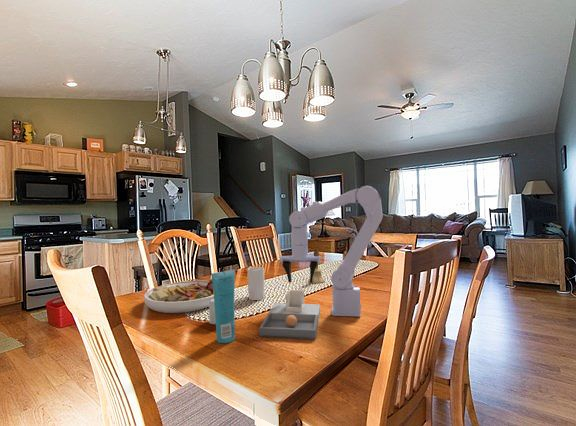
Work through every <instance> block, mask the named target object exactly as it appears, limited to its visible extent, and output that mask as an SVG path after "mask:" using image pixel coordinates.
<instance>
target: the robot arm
mask: <svg viewBox="0 0 576 426" xmlns="http://www.w3.org/2000/svg"><path fill="white" fill-rule="evenodd" d="M347 204H360V206H361V207H362V209H363V210H364V213H365V216H366V219H365V221H364V222H363V225H361V228H360V230H359V231H358V234H357V235H356V237H355V239H354V241H353V242H352V244H351V246H350V248H349V249H348V252H347V254H346V255H345V257H344V259H343V260H342V262H341V263H340V265H339V266H338V267H337V269H336V270H335V271H333V272H332V274H331V276H330V280H331V284H332V288H331V289H332V306H331V316H335V317H337V316H338V317H357V318H359V317H362V315H361V309H362V304H361V289H360V287H359V286H355V285H354V283H353V282H352V281H353V279H354V276H355V269H356V267H357V266H358V264H359V262H360V260H361V258H362V256H363V255H364V253H365V252H366V249H367V247H368V246H369V244H370V242H371V240H372V238H373V237H374V235H375V233H376V231H377V229H378V228H379V225H380V224H381V222H382V220H383V217H384V216H383V208H382V198H381V196H380V193H379V192H378V191H377V189H376V188H374V187H373V186H370V185H364V186H361V187H360V188H355V189H352V190H349V191H346V192H345V193H343V194H341V195H338V196H336V197H334V198H332V199H330V200H327V201H326V202H322V201H313V202H312V204H310V205H307V206H306V207H301V208H300V210H295V211H293V212H292V213H290V216H289V218H288V221H289V224H290V226H291V255H280V256H279V262H280V263H282V268H283V269H284V271H285V273H286V277H287V279H288V280H287V281H288V283H292V263H309V272H310V273H309V275H310V276H309V279H310V282H309V284H313V283H312V280H313V274H314V271H315V268H316V266H317V263H318V264H319V263H321V256H320V255H319V256H314V255H309V248H308V247H309V246H308V245H309V243H308V242H309V241H308V239H309V237H308V225H309V224H311V223H314V222H316V221H318V220H320V219H323V218H326V217H327V216H328V212H330V211H332V210H334V209H337V208H340V207H343V206H345V205H347Z"/></svg>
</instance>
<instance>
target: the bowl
mask: <svg viewBox="0 0 576 426" xmlns="http://www.w3.org/2000/svg"><path fill="white" fill-rule="evenodd" d="M143 299H144V303H145V305H146V306H147V308H149V309H151V310H152V311H155V312H158V313H165V314H181V313H182V314H183V313H190V312H191V311H192V312H197V311H200V309H201V310H204V308H205V309H207V307H208V308H209V301H211V300H212V299H214V295H213V284H212V278H210V279H209V280H189V281H188V280H187V281H179V282H172V283H167V284H162V285H160V286H156V287H153V288H151V289H149V290H147V291H146V292H145V293H144V295H143ZM196 310H197V311H196Z"/></svg>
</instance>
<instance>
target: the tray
mask: <svg viewBox="0 0 576 426" xmlns="http://www.w3.org/2000/svg"><path fill="white" fill-rule="evenodd" d="M318 327H319V322H318V315H316V316H315V321H303V320H297V323H296V325H295V326H293V327H289V326H288V325H287V324H286V320H279V319H271V313H269V312H268V313H267V315H266V316H265V318H264V320H263V321H262V322H261V324H260V326H259V327H258V330H259V331H258V334H259V337H261V338H278V339H279V338H281V339H295V340H296V339H298V340H299V339H301V340H317V334H318Z"/></svg>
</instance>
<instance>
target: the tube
mask: <svg viewBox="0 0 576 426" xmlns="http://www.w3.org/2000/svg"><path fill="white" fill-rule="evenodd" d="M210 276H211V279H212V284H213V295H214V306H215V318H216V324H215V330H216V331H215V332H216V341H217V343H219V344H228V343H231V342H233V341H234V340H235V338H236V335H235V331H236V330H235V327H236V326H235V324H236V323H235V318H234V314H235V283H236V282H235V280H236V279H235V278H236V277H235V276H236V270H235V269H231V270H224V271H219V272H218V271H217V272H213V273H211V275H210Z"/></svg>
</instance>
